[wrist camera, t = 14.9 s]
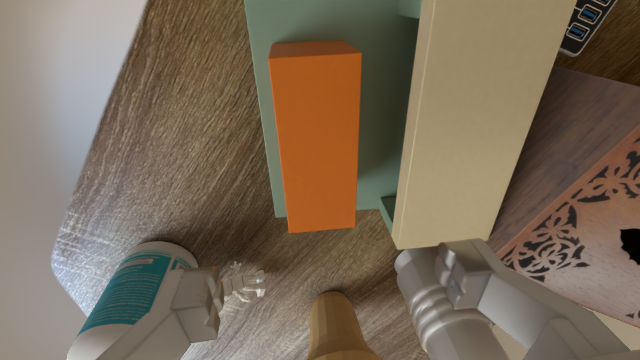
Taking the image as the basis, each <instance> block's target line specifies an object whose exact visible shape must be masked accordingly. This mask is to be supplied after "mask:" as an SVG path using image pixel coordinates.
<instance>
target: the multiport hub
mask: <svg viewBox="0 0 640 360" xmlns="http://www.w3.org/2000/svg"><path fill="white" fill-rule="evenodd" d="M616 2H617V0H577V2H576V5H575V8H574V10H573V13H572V16H571V18H570V21H569V24H568V27H567V29H566V32H565V35H564V37H563V40H562V43H561V45H560V48H559V51H558V53H557V54H561V55H566V56H571V57H575V56H577V55H579V54H580V53H581V51H582V50H583V48H584V47H585V46H586V44H587V43H588V41H589V40H590V39H591V37H592V36H593V34H594V33H595V31H596V30H597V29H598V27H599V26H600V24H601V23H602V22H603V20H604V19H605V17H606V16H607V14H608V13H609V12H610V10H611V9H612V7H613V6H614V5H615V3H616Z"/></svg>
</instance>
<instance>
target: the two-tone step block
mask: <svg viewBox="0 0 640 360" xmlns="http://www.w3.org/2000/svg"><path fill="white" fill-rule="evenodd" d="M576 2H577V0H244V5H245V12H246V19H247V26H248V32H249V39H250V46H251V53H252V60H253V66H254V73H255V80H256V87H257V94H258V101H259V107H260V114H261V121H262V128H263V135H264V141H265V148H266V155H267V162H268V169H269V175H270V182H271V189H272V196H273V203H274V210H275V216H276V218H279V217H287V212H286V203H285V195H284V187H283V179H282V171H281V162H280V154H279V146H278V138H277V130H276V121H275V113H274V105H273V97H272V89H271V80H270V72H269V64H268V57H269V53H270V49H271V46H272V44H277V43H296V42H316V41H335V40H344V41H346V42H347V43H349V44H350V45H351V46H353V47H354V48H356V49H357V50H359V51H360V52H361V53H362V70H361V96H360V121H359V147H358V172H357V198H356V210H366V209H377V208H379V210H380V212H381V215H382V217H383V219H384V221H385V223H386V226H387V228H388V230H389V232H390V235H391V237H392V239H393V241H394V243H395V245H396V248H397V250H401V249H411V248H420V247H430V246H438V245H439V244H440V242H447V241H456V240H466V239H474V238H481V239H483V240H484V241H487V240H488V239H489V236H490V233H491V231H492V228H493V225H494V223H495V220H496V217H497V215H498V212H499V209H500V207H501V204H502V201H503V199H504V196H505V193H506V190H507V188H508V185H509V182H510V180H511V177H512V174H513V172H514V169H515V166H516V164H517V161H518V158H519V156H520V153H521V150H522V147H523V145H524V142H525V139H526V137H527V134H528V131H529V129H530V126H531V123H532V121H533V118H534V115H535V113H536V110H537V107H538V104H539V102H540V99H541V96H542V94H543V91H544V88H545V86H546V83H547V80H548V78H549V75H550V72H551V70H552V67H553V64H554V61H555V59H556V56H557V53H558V51H559V48H560V45H561V43H562V40H563V37H564V35H565V32H566V29H567V27H568V24H569V21H570V18H571V16H572V13H573V10H574V8H575V5H576Z"/></svg>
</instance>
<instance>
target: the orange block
mask: <svg viewBox="0 0 640 360" xmlns="http://www.w3.org/2000/svg"><path fill="white" fill-rule="evenodd" d="M268 64H269V72H270V80H271V89H272V97H273V105H274V113H275V121H276V130H277V138H278V146H279V154H280V162H281V171H282V179H283V187H284V195H285V203H286V212H287V220H288V228H289V233H299V232H310V231H320V230H330V229H340V228H351V227H355V224H356V198H357V172H358V147H359V121H360V96H361V70H362V53H361V52H360V51H359V50H357V49H356V48H354V47H353V46H351V45H350V44H349V43H347V42H346V41H344V40H335V41H316V42H296V43H277V44H272V46H271V49H270V53H269V57H268Z"/></svg>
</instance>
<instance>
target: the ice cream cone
mask: <svg viewBox="0 0 640 360" xmlns="http://www.w3.org/2000/svg"><path fill="white" fill-rule="evenodd" d="M306 360H382V358H381V357H380V356H378V355H377V354H376V353H374V352H373V351H372V350H371V349H370V348H369V347H368V346H367V344H366V342H365V340H364V338H363V335H362V332H361V329H360V326H359V323H358V320H357V317H356V314H355V311H354V309H353V307H352V304H351V303H350V301H349V300H348V299H347V298H346V296H345V295H344V294H342V293H340V292H337V291H329V292H324V293H322V294H320V295H319V296H317V297H316V299H315V300H314V303H313V305H312V307H311V313H310V347H309V352H308V357H307V359H306Z"/></svg>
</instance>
